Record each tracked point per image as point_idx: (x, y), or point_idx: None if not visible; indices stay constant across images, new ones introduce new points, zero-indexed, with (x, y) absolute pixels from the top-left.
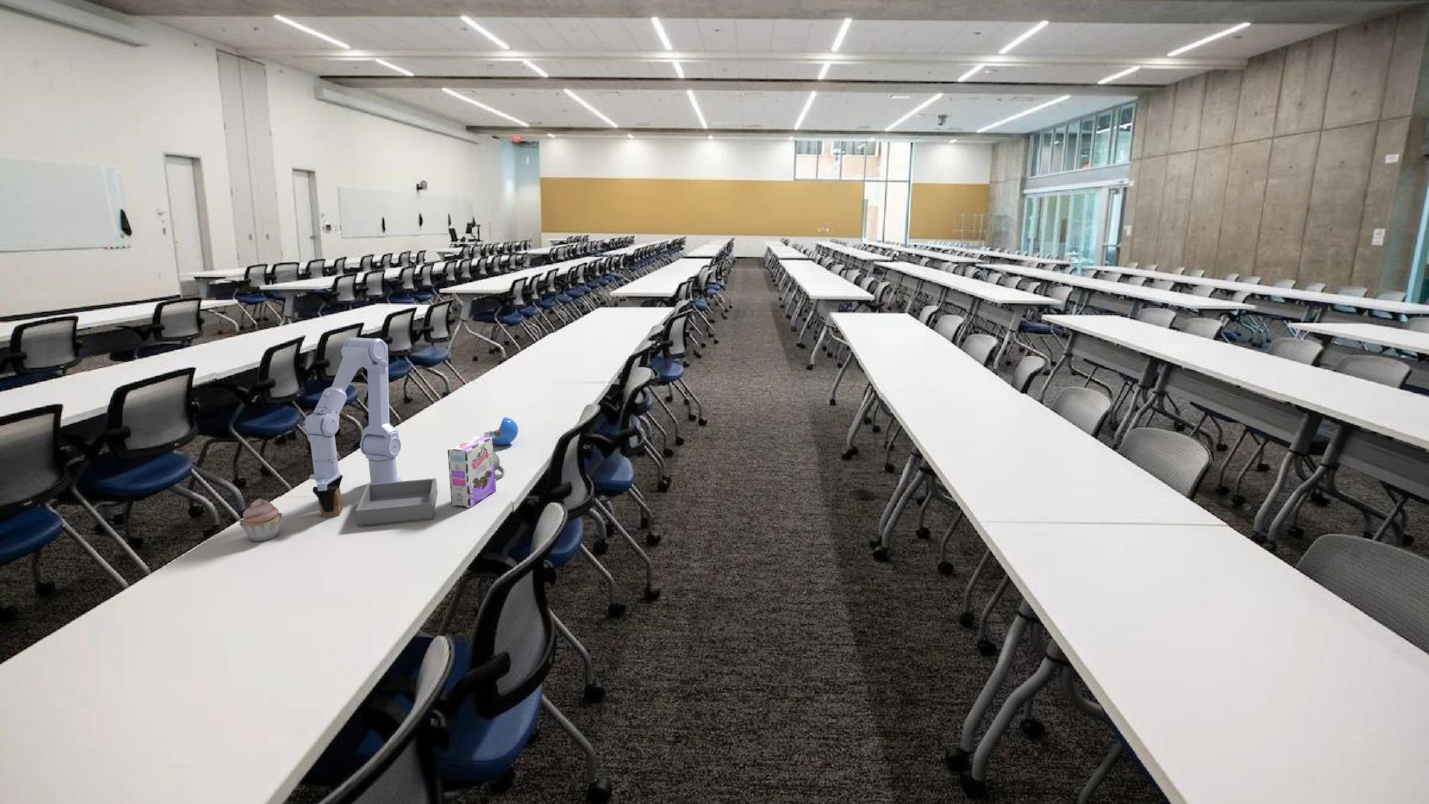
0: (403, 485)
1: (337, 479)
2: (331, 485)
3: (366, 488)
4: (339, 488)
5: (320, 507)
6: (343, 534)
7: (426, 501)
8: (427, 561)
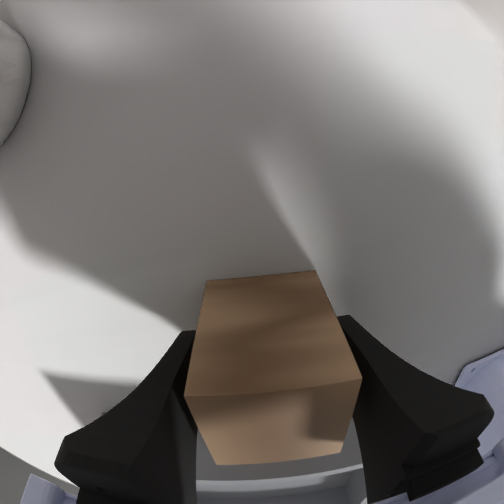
0: (365, 485)
1: (372, 496)
2: (376, 439)
3: (357, 466)
4: (337, 452)
5: (198, 326)
6: (48, 382)
7: (282, 492)
8: (26, 454)
